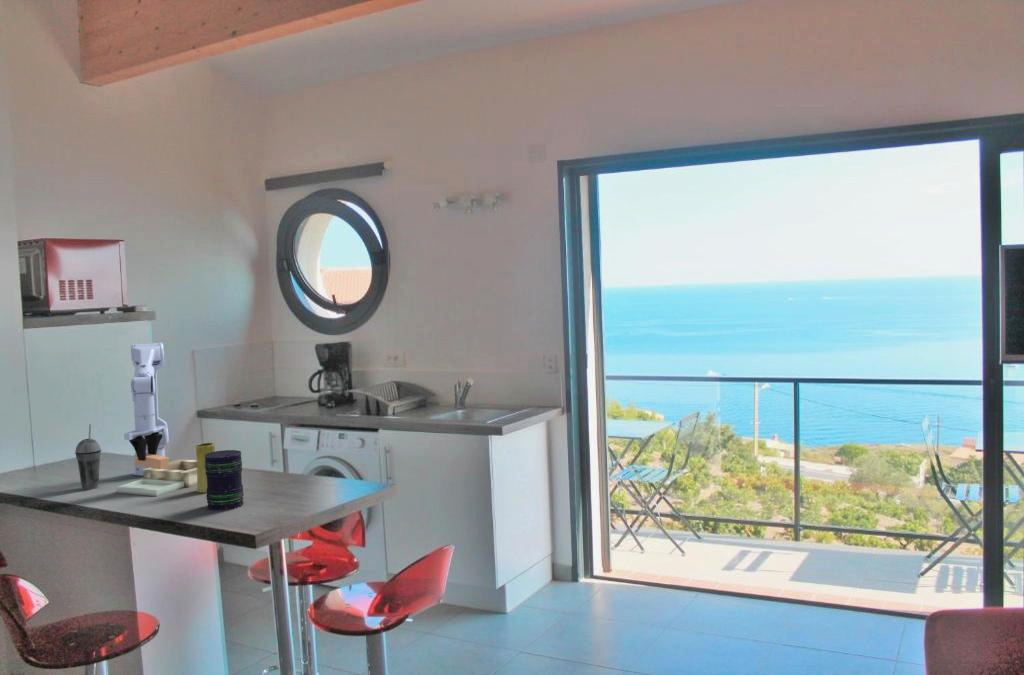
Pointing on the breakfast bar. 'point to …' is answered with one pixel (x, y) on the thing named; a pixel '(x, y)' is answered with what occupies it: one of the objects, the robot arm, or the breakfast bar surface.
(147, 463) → the slab
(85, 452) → the beverage cup
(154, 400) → the robot arm
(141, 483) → the tray
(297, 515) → the breakfast bar surface
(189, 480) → the block
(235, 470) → the storage jar
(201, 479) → the vase
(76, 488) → the breakfast bar surface
